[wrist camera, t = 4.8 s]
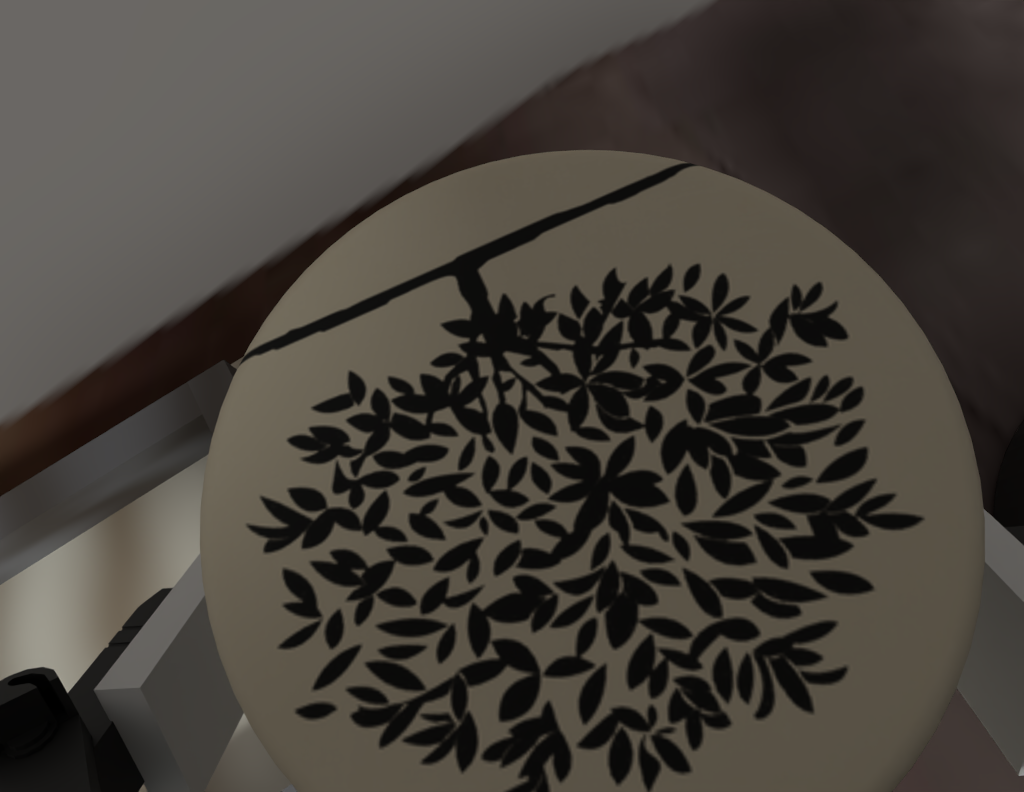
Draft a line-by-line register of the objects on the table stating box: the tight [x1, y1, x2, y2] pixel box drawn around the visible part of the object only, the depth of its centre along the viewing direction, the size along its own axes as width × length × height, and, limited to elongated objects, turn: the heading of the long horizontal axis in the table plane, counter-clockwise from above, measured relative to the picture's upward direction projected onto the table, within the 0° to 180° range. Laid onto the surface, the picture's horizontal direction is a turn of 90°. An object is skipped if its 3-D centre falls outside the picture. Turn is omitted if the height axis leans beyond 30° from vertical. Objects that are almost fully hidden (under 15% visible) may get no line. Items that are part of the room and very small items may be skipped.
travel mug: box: [200, 150, 985, 792], centre depth 14 cm, size 8×8×18 cm
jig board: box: [0, 357, 298, 792], centre depth 22 cm, size 16×18×4 cm
